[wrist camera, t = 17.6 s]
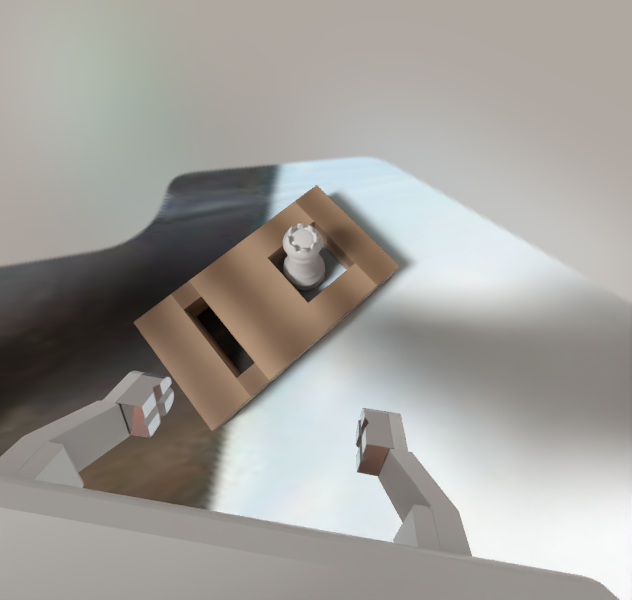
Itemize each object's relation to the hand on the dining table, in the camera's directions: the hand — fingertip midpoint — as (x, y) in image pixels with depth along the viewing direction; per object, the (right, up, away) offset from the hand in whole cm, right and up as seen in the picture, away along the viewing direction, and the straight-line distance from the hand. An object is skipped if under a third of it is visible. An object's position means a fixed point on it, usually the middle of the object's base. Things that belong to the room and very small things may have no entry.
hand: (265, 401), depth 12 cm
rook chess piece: (+1, +7, +18) cm, 20 cm away
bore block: (-2, +4, +17) cm, 18 cm away
